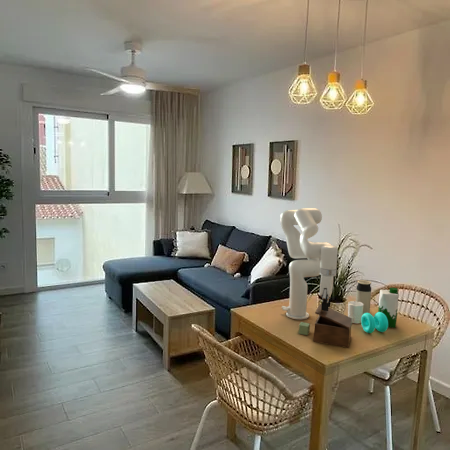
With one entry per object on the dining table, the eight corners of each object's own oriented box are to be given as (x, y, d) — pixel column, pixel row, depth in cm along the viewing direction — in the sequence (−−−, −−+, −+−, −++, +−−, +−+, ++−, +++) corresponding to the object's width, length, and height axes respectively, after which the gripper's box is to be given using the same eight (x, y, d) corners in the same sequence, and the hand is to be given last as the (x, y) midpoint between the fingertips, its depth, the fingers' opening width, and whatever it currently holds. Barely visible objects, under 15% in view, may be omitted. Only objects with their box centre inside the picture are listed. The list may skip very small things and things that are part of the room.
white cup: (344, 318, 213) (345, 301, 212) (358, 318, 214) (359, 301, 212) (350, 324, 205) (351, 306, 204) (364, 324, 206) (366, 305, 205)
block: (298, 333, 192) (299, 325, 191) (300, 330, 196) (300, 321, 195) (307, 335, 190) (308, 326, 190) (309, 331, 194) (309, 323, 194)
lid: (314, 313, 181) (319, 301, 180) (319, 305, 193) (323, 294, 191) (349, 329, 176) (354, 317, 175) (351, 319, 188) (356, 308, 186)
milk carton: (397, 328, 200) (400, 291, 197) (379, 327, 202) (381, 290, 199) (393, 322, 209) (396, 286, 206) (376, 321, 210) (378, 285, 208)
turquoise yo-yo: (388, 335, 192) (390, 316, 190) (370, 336, 190) (371, 317, 188) (376, 327, 202) (378, 309, 200) (359, 328, 199) (360, 310, 198)
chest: (313, 341, 183) (314, 323, 182) (318, 331, 195) (319, 314, 194) (348, 347, 177) (349, 329, 176) (350, 337, 189) (351, 319, 188)
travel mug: (368, 315, 219) (370, 284, 216) (353, 312, 222) (355, 282, 220) (370, 311, 225) (372, 281, 223) (356, 308, 229) (358, 279, 227)
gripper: (322, 266, 192) (320, 302, 195) (316, 274, 177) (314, 313, 179) (338, 268, 189) (336, 304, 192) (333, 276, 174) (331, 315, 176)
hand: (325, 308), depth 185 cm, fingers closed on lid, 5 cm apart
